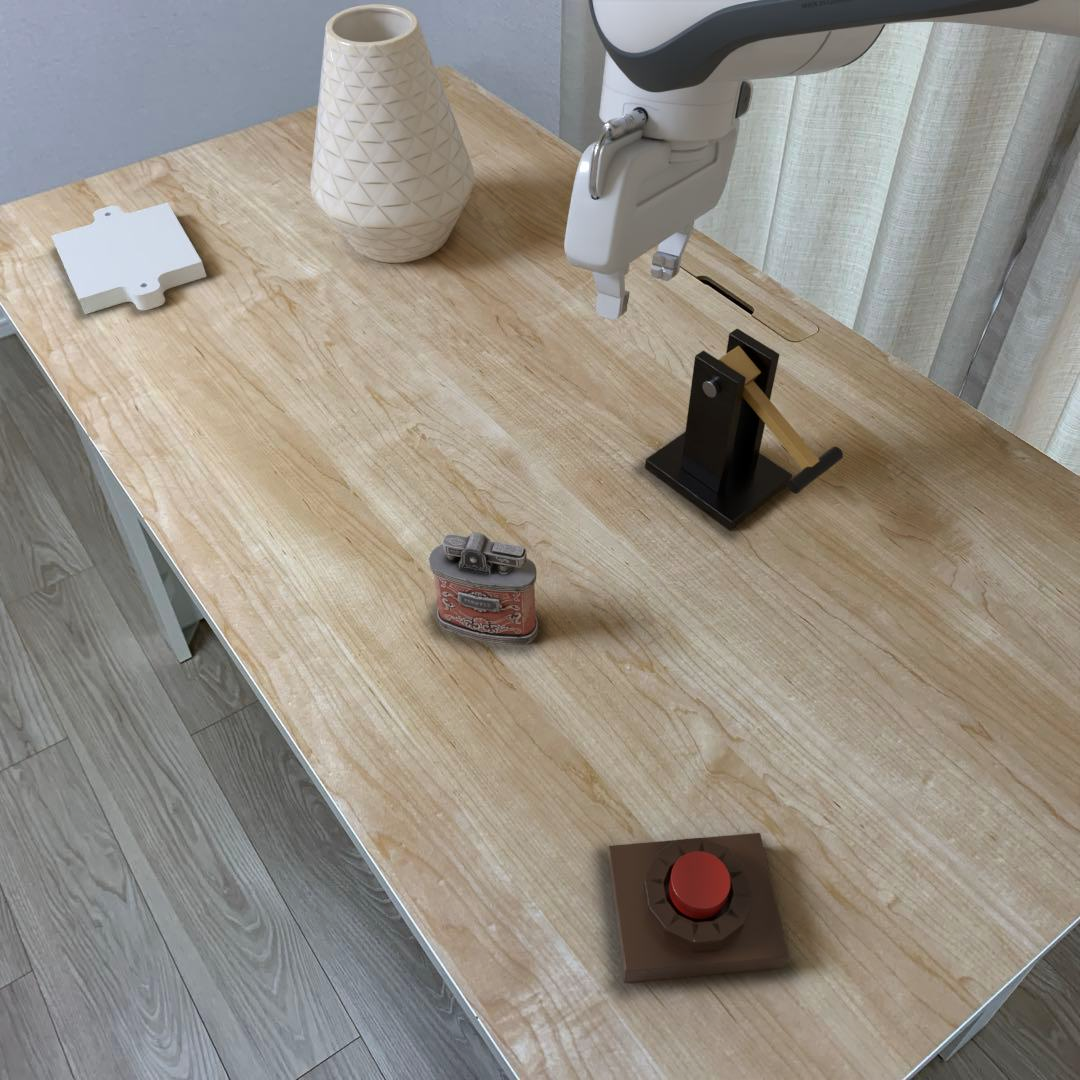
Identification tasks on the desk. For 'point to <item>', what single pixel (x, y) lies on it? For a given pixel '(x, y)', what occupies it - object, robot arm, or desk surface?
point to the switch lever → (780, 425)
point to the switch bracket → (723, 440)
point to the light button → (699, 885)
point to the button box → (687, 943)
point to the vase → (386, 138)
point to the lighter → (485, 589)
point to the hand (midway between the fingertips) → (638, 295)
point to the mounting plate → (128, 257)
